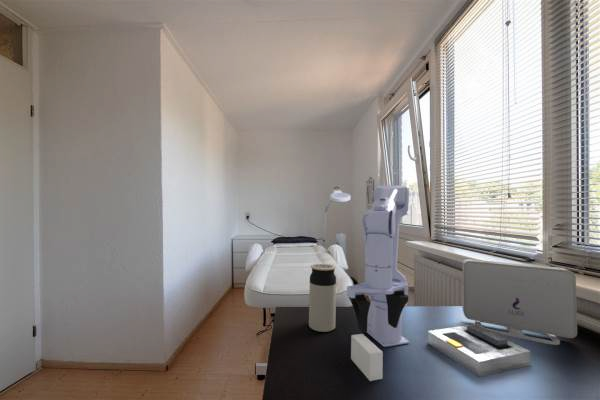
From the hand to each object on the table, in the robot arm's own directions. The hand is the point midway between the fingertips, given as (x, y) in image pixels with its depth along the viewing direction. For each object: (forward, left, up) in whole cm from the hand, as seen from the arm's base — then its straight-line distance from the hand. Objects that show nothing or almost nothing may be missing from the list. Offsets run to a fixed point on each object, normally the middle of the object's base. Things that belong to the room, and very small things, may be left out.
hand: (377, 328), depth 54 cm
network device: (-6, +51, -10) cm, 53 cm away
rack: (0, +28, -9) cm, 30 cm away
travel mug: (-23, -4, -10) cm, 25 cm away
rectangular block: (-2, -2, -10) cm, 10 cm away
